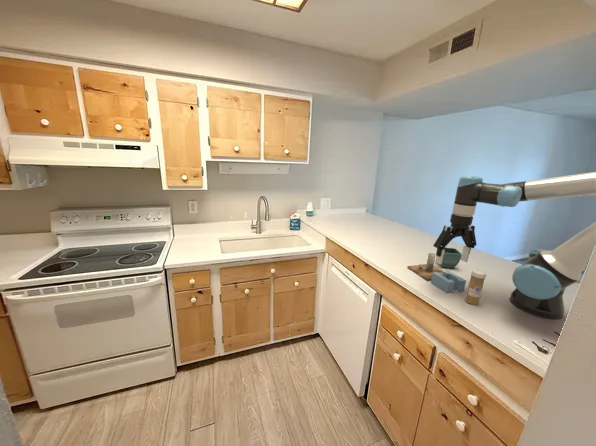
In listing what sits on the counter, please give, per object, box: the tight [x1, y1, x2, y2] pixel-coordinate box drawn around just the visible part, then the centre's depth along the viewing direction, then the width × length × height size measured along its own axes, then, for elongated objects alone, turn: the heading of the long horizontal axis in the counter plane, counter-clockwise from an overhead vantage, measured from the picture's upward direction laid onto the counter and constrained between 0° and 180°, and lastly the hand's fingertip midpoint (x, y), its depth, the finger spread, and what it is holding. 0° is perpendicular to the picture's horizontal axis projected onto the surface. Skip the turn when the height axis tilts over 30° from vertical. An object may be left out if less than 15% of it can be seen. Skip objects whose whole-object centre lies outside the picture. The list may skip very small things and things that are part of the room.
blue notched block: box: [430, 270, 467, 294], centre depth 107 cm, size 9×9×5 cm
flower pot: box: [440, 246, 462, 269], centre depth 128 cm, size 9×9×9 cm
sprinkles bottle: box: [464, 268, 487, 306], centre depth 95 cm, size 5×5×14 cm
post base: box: [407, 252, 444, 282], centre depth 119 cm, size 14×14×10 cm
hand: (451, 261), depth 105 cm, fingers open, 13 cm apart
